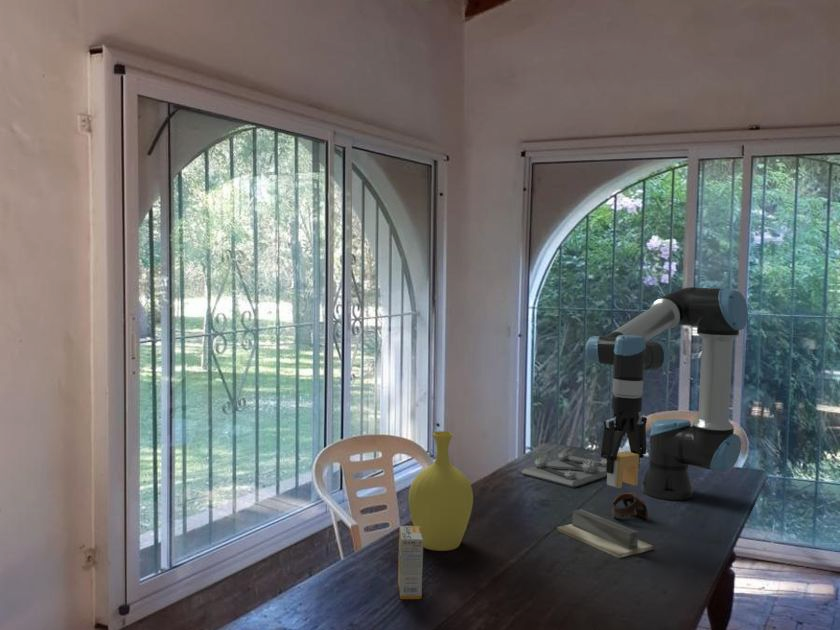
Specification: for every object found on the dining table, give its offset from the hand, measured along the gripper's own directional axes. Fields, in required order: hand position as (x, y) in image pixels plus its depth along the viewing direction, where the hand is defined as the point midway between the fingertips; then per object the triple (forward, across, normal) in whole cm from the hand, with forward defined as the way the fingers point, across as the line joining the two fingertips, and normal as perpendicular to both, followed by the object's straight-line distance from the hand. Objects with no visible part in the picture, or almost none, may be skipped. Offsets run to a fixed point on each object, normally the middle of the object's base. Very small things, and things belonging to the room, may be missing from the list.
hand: (622, 483), depth 208 cm
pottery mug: (+15, -16, -11) cm, 24 cm away
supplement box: (+16, +65, 0) cm, 67 cm away
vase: (+15, +43, -20) cm, 50 cm away
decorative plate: (+15, -35, -53) cm, 65 cm away
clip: (0, 0, 0) cm, 0 cm away
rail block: (+15, +4, -2) cm, 15 cm away
